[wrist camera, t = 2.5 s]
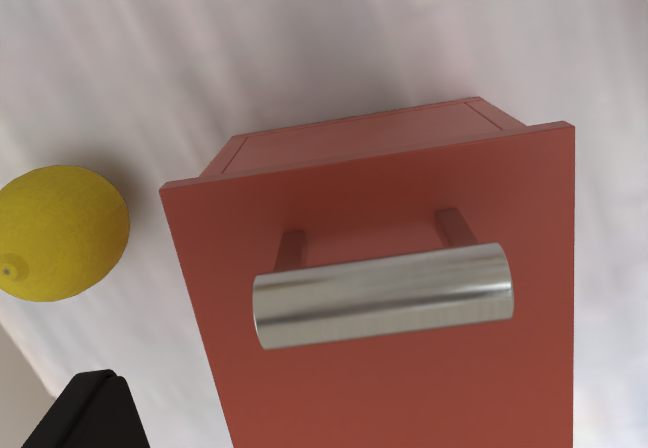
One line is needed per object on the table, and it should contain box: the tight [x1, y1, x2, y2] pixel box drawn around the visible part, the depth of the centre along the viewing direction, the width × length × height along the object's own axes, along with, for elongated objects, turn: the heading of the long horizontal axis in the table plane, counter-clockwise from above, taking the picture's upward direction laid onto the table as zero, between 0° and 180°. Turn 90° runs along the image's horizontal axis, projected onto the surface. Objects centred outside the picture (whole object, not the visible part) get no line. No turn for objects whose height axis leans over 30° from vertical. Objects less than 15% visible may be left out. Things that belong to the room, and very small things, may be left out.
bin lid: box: [159, 121, 575, 448], centre depth 16 cm, size 16×12×6 cm
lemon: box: [0, 165, 130, 302], centre depth 23 cm, size 6×6×8 cm
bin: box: [199, 97, 526, 177], centre depth 23 cm, size 15×12×10 cm
